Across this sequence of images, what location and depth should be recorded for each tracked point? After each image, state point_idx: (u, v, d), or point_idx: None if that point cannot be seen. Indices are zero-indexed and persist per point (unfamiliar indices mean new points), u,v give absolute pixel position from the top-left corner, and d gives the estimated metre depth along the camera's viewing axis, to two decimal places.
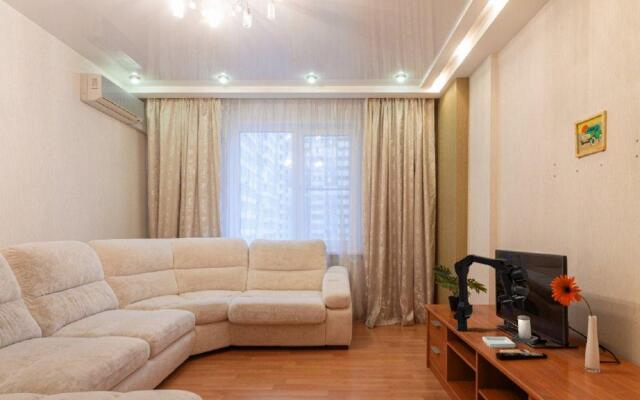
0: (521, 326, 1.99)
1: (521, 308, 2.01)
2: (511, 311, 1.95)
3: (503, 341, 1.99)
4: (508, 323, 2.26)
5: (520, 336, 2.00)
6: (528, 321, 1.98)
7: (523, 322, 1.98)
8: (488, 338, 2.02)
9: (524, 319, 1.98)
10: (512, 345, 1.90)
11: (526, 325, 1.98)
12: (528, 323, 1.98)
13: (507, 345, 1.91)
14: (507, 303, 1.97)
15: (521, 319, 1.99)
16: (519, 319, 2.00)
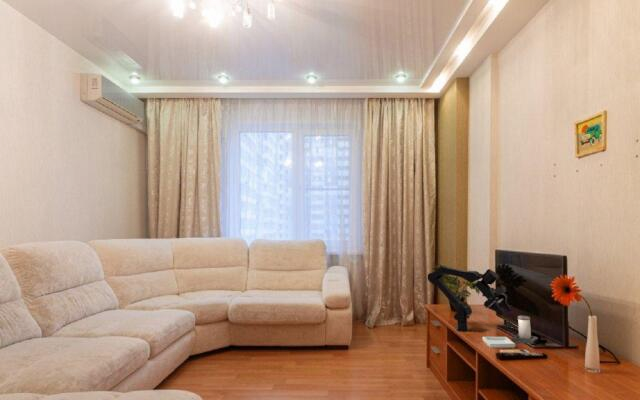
0: (521, 326, 1.99)
1: (508, 309, 2.11)
2: (501, 312, 2.04)
3: (503, 341, 1.99)
4: (508, 323, 2.26)
5: (520, 336, 2.00)
6: (528, 321, 1.98)
7: (523, 322, 1.98)
8: (488, 338, 2.02)
9: (524, 319, 1.98)
10: (512, 345, 1.90)
11: (526, 325, 1.98)
12: (528, 323, 1.98)
13: (507, 345, 1.91)
14: (494, 306, 2.06)
15: (521, 319, 1.99)
16: (519, 319, 2.00)
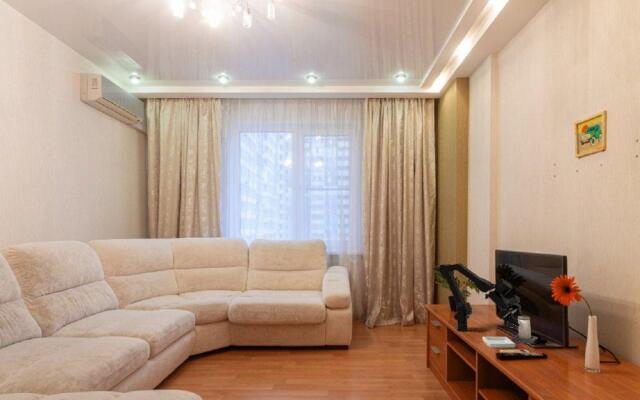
0: (521, 326, 1.99)
1: None
2: (516, 323, 1.99)
3: (503, 341, 1.99)
4: (508, 323, 2.26)
5: (520, 336, 2.00)
6: (528, 321, 1.98)
7: (523, 322, 1.98)
8: (488, 338, 2.02)
9: (524, 319, 1.98)
10: (512, 345, 1.90)
11: (526, 325, 1.98)
12: (528, 323, 1.98)
13: (507, 345, 1.91)
14: (508, 317, 2.01)
15: (521, 319, 1.99)
16: (519, 319, 2.00)
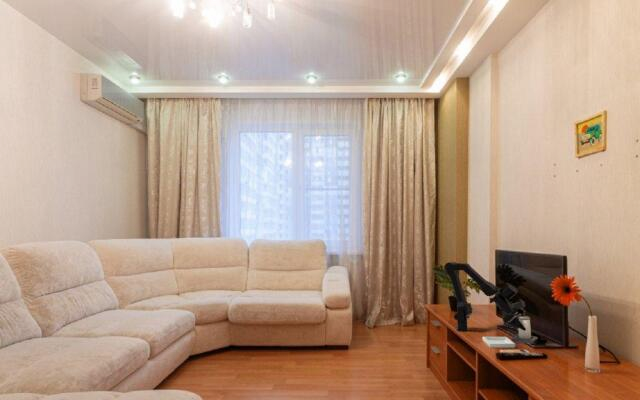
0: None
1: None
2: (522, 327, 1.98)
3: (503, 341, 1.99)
4: (508, 323, 2.26)
5: (520, 336, 2.00)
6: (528, 321, 1.98)
7: (523, 322, 1.98)
8: (488, 338, 2.02)
9: (524, 319, 1.98)
10: (512, 345, 1.90)
11: (526, 325, 1.98)
12: (528, 323, 1.98)
13: (507, 345, 1.91)
14: (514, 321, 2.00)
15: (521, 319, 1.99)
16: (519, 319, 2.00)
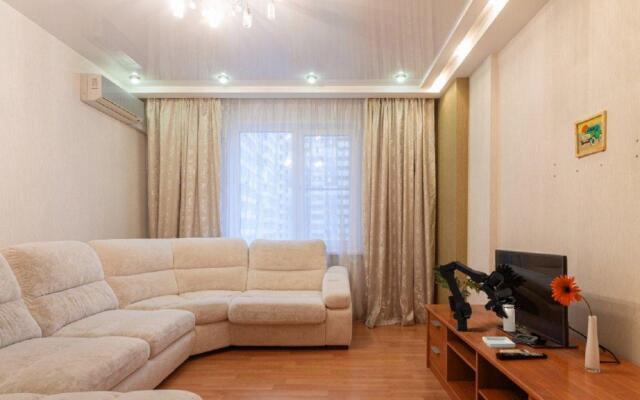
0: None
1: None
2: (504, 315, 1.96)
3: (503, 341, 1.99)
4: None
5: (503, 324, 1.98)
6: (511, 310, 1.96)
7: (506, 310, 1.96)
8: (488, 338, 2.02)
9: (507, 307, 1.96)
10: (512, 345, 1.90)
11: (509, 314, 1.96)
12: (511, 312, 1.96)
13: (507, 345, 1.91)
14: (497, 309, 1.99)
15: (504, 307, 1.97)
16: (503, 307, 1.98)
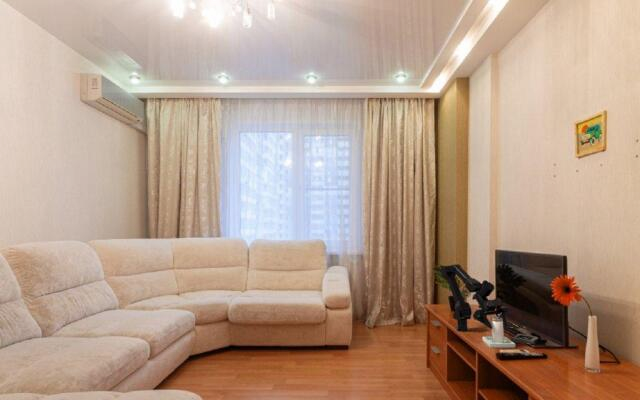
0: (492, 327, 1.97)
1: (504, 323, 1.98)
2: (489, 326, 1.96)
3: None
4: (508, 323, 2.26)
5: (492, 337, 1.98)
6: (498, 323, 1.95)
7: (493, 323, 1.96)
8: (488, 338, 2.02)
9: (494, 320, 1.96)
10: (512, 345, 1.90)
11: (496, 327, 1.95)
12: (498, 325, 1.95)
13: (507, 345, 1.91)
14: (483, 319, 1.99)
15: (491, 320, 1.97)
16: (491, 320, 1.98)
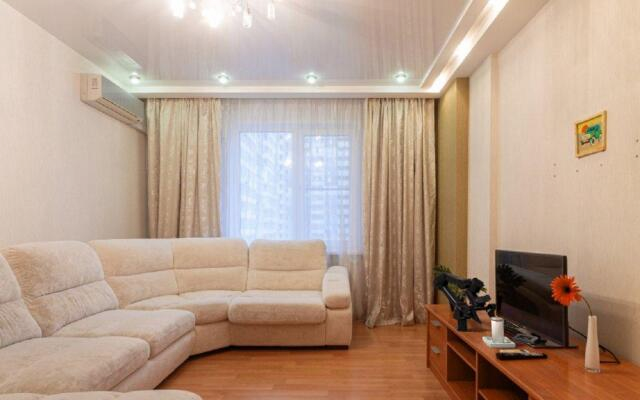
0: (492, 327, 1.97)
1: None
2: (478, 321, 2.03)
3: None
4: (508, 323, 2.26)
5: (492, 337, 1.98)
6: (499, 323, 1.95)
7: (493, 323, 1.96)
8: (488, 338, 2.02)
9: (494, 320, 1.96)
10: (512, 345, 1.90)
11: (496, 327, 1.95)
12: (499, 325, 1.95)
13: (507, 345, 1.91)
14: (473, 315, 2.06)
15: (492, 320, 1.97)
16: (491, 320, 1.98)
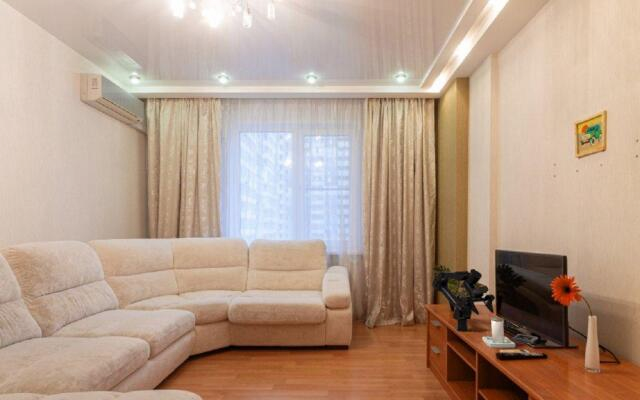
0: (492, 327, 1.97)
1: (491, 310, 2.08)
2: (475, 311, 2.05)
3: None
4: (508, 323, 2.26)
5: (492, 337, 1.98)
6: (499, 323, 1.95)
7: (493, 323, 1.96)
8: (488, 338, 2.02)
9: (494, 320, 1.96)
10: (512, 345, 1.90)
11: (496, 327, 1.95)
12: (499, 325, 1.95)
13: (507, 345, 1.91)
14: (470, 305, 2.08)
15: (492, 320, 1.97)
16: (491, 320, 1.98)
